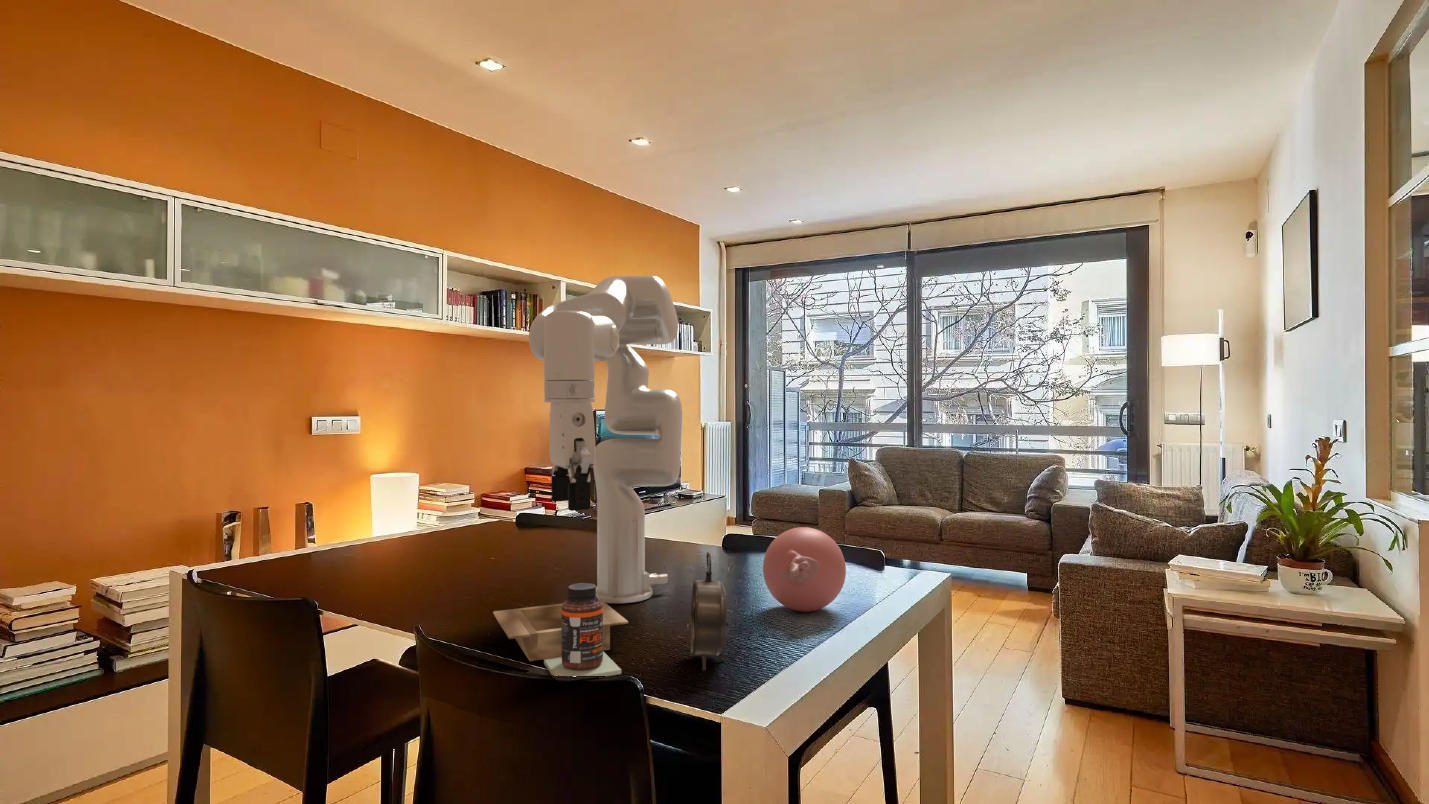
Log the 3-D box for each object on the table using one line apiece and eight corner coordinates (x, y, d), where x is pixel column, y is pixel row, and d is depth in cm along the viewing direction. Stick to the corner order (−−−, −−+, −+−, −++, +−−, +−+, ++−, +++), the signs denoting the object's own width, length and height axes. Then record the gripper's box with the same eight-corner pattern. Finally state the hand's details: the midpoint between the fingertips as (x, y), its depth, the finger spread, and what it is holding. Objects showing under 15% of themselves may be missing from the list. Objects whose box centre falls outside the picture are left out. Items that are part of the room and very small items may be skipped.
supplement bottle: (582, 674, 102) (581, 593, 102) (552, 666, 106) (551, 587, 106) (612, 661, 107) (610, 584, 107) (583, 654, 110) (581, 579, 111)
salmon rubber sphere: (745, 624, 128) (745, 536, 128) (774, 596, 147) (774, 519, 147) (833, 633, 123) (832, 541, 123) (852, 603, 142) (851, 523, 142)
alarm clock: (689, 649, 115) (689, 545, 115) (723, 648, 115) (723, 545, 115) (693, 675, 104) (693, 560, 104) (731, 673, 104) (730, 559, 104)
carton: (600, 621, 130) (600, 599, 130) (628, 646, 116) (628, 621, 116) (493, 635, 122) (493, 611, 122) (509, 664, 108) (509, 637, 108)
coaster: (602, 654, 112) (602, 650, 112) (621, 673, 104) (621, 669, 104) (543, 663, 108) (543, 659, 108) (558, 684, 100) (558, 679, 100)
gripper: (611, 392, 105) (612, 511, 106) (577, 392, 121) (578, 496, 121) (559, 393, 102) (560, 515, 102) (532, 392, 118) (532, 499, 118)
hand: (570, 505), depth 112 cm, fingers open, 9 cm apart
